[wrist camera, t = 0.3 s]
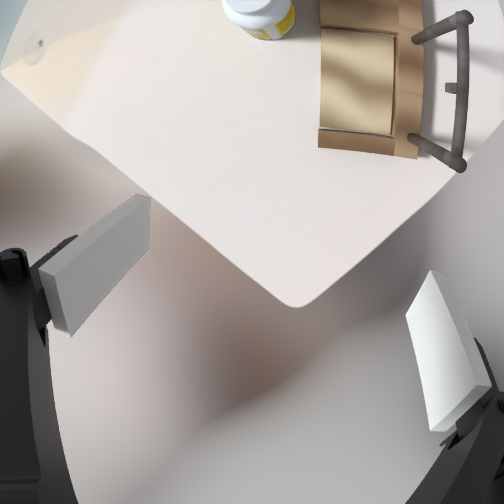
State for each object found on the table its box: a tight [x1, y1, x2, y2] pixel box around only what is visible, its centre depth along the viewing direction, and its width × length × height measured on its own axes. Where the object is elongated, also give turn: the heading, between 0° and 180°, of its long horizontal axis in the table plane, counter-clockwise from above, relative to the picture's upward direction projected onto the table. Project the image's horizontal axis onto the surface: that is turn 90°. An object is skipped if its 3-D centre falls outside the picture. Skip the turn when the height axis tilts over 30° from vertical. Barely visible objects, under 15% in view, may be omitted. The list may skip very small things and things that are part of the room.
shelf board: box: [318, 0, 474, 173], centre depth 20 cm, size 32×12×16 cm, turn 1°
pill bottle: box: [223, 0, 296, 40], centre depth 24 cm, size 6×6×12 cm
